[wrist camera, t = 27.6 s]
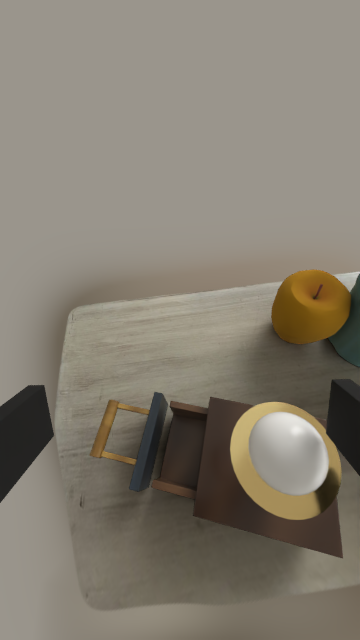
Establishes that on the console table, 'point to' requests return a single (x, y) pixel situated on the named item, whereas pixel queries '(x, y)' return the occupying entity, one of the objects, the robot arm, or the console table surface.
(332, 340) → the flower pot
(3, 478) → the robot arm
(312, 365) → the console table surface
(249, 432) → the perfume bottle
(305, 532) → the cabinet
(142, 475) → the drawer
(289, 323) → the apple
